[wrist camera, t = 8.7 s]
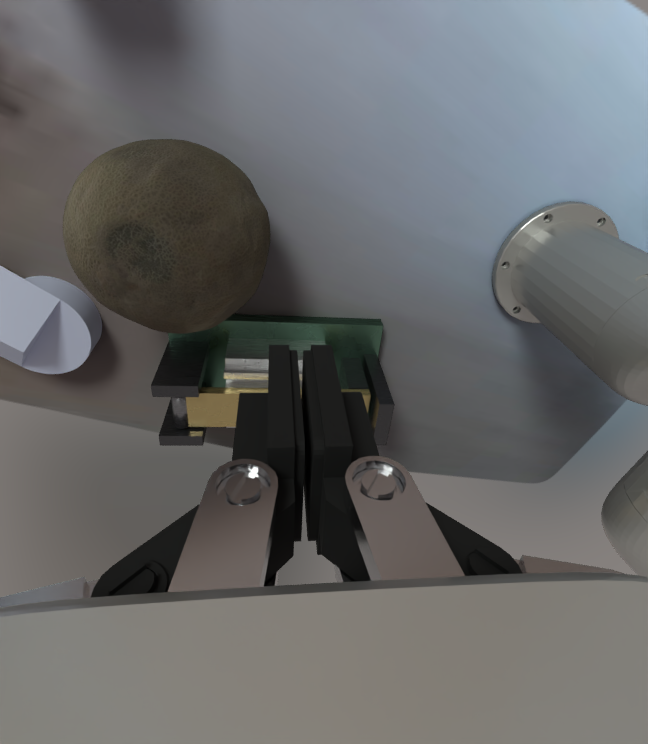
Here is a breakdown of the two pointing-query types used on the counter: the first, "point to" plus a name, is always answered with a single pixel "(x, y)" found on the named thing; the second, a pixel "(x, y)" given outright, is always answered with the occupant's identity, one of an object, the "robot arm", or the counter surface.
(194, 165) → the cantaloupe
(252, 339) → the cooling block
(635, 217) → the counter surface
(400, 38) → the counter surface
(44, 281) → the wedge on round base
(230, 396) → the retention strap
